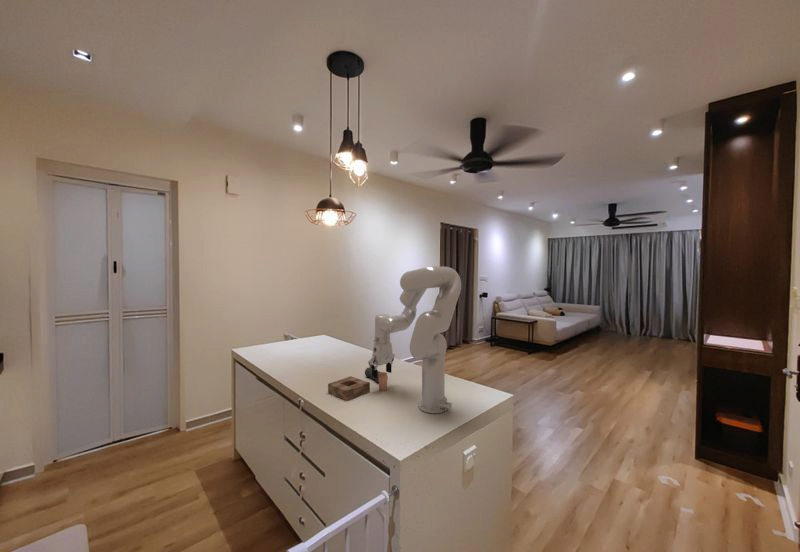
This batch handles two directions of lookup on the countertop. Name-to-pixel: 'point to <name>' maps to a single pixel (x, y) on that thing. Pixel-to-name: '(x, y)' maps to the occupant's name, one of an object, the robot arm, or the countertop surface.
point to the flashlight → (369, 374)
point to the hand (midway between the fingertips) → (381, 374)
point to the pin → (382, 381)
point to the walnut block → (348, 388)
